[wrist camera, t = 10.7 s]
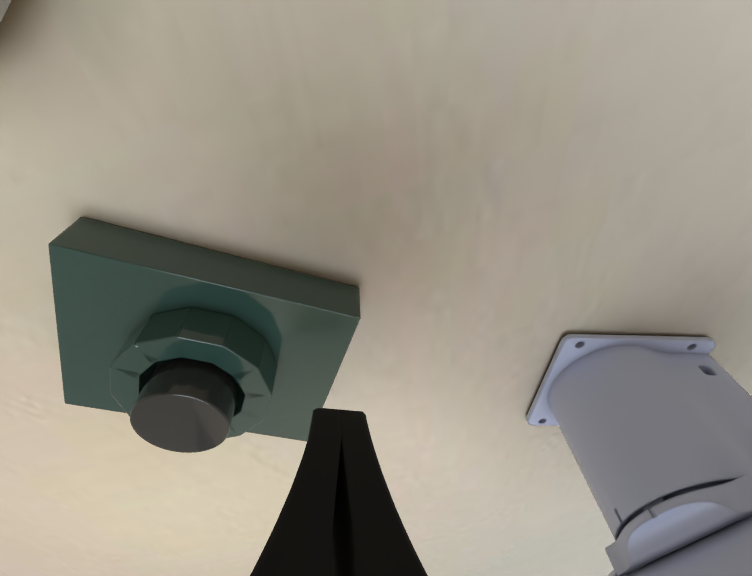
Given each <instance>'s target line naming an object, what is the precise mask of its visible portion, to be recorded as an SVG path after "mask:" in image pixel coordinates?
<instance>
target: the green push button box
mask: <svg viewBox="0 0 752 576" xmlns="http://www.w3.org/2000/svg"><path fill="white" fill-rule="evenodd" d="M49 254H50V264H51V274H52V283H53V293H54V303H55V313H56V322H57V332H58V342H59V351H60V361H61V371H62V380H63V390H64V400H65V403H66V404H72V405H78V406H85V407H91V408H97V409H104V410H110V411H116V412H123V413H127V414H128V415H129V416H130V413H131V410H132V408H133V406H134V404H135V402H136V400H137V398H138V396H139V394H140V392H141V390H142V389H143V387H144V385H145V383H146V381H147V379H148V377H149V375H150V373H151V372H152V370H153V369H154V368H155V367H157V366H158V365H160V364H161V363H163V362H166V361H169V360H172V359H178V358H187V359H193V360H198V361H203V362H208V363H212V364H214V365H216V366H217V367H219V368H221V369H222V370H224V371H225V372H227V373H229V374H230V375H231V376H232V377H233V378H234V380H235V381H236V383H237V385H238V389H239V397H238V401H237V405H236V408H235V412H234V416H233V419H232V423H231V427H230V430H229V433H228V436H227V437H226V438H229V437H235V436H239V435H242V434H243V433H245V432H250V433H256V434H263V435H269V436H275V437H282V438H288V439H295V440H301V441H308V436H309V431H310V425H311V420H312V414H313V410H315V409H317V408H323V405H324V403H325V401H326V398H327V396H328V393H329V391H330V389H331V386H332V384H333V382H334V379H335V377H336V375H337V372H338V370H339V367H340V365H341V363H342V360H343V358H344V356H345V353H346V351H347V349H348V346H349V344H350V341H351V339H352V337H353V334H354V332H355V330H356V327H357V325H358V323H359V320H360V295H359V287H355V286H351V285H347V284H343V283H339V282H335V281H332V280H328V279H324V278H320V277H316V276H312V275H308V274H304V273H300V272H296V271H292V270H288V269H284V268H281V267H277V266H273V265H269V264H265V263H261V262H257V261H253V260H249V259H245V258H241V257H237V256H233V255H230V254H226V253H222V252H218V251H214V250H210V249H206V248H202V247H198V246H194V245H190V244H186V243H183V242H179V241H175V240H171V239H167V238H163V237H159V236H155V235H151V234H147V233H143V232H139V231H135V230H132V229H128V228H124V227H120V226H116V225H112V224H108V223H104V222H100V221H96V220H92V219H88V218H84V217H80V218H79V219H78V220H77V221H75V222H74V223H73V224H72V225H71V226H69V227H68V228H67V229H66V230H65V231H63V232H62V233H61V234H60V235H59V236H57V237H56V238H55V239H54V240H52V241H51V242H50V243H49Z"/></svg>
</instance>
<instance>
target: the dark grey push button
mask: <svg viewBox="0 0 752 576" xmlns="http://www.w3.org/2000/svg"><path fill="white" fill-rule="evenodd" d="M238 397H239V389H238V385H237V383H236V381H235V380H234V378H233V377H232V376H231V375H230V374H229V373H227V372H225V371H224V370H222V369H221V368H219V367H217V366H216V365H214V364H212V363H208V362H203V361H198V360H193V359H187V358H178V359H172V360H169V361H166V362H163V363H161V364H160V365H158V366H157V367H155V368H154V369H153V370H152V372H151V373H150V375H149V377H148V379H147V381H146V383H145V385H144V387H143V389H142V390H141V392H140V394H139V396H138V398H137V400H136V402H135V404H134V406H133V408H132V410H131V413H130V422H131V425H132V427H133V429H134V430H135V432H136V433H137V434H138V435H139V436H140V437H141V438H143V439H144V440H146V441H147V442H149V443H151V444H153V445H155V446H157V447H160V448H163V449H166V450H170V451H175V452H185V453H192V452H201V451H206V450H209V449H212V448H214V447H216V446H218V445H219V444H221V443H222V442H223V441H224V440H225V439H226V437H227V436H228V433H229V430H230V427H231V423H232V419H233V416H234V412H235V408H236V405H237V401H238Z"/></svg>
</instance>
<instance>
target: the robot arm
mask: <svg viewBox="0 0 752 576" xmlns="http://www.w3.org/2000/svg"><path fill="white" fill-rule="evenodd" d="M578 342H579V343H578ZM715 345H716V343H715V342H714V341H713V340H712V339H711V338H709V337H679V336H636V335H592V334H568V335H566V336H564V337H563V338H562V340H561V341H560V343H559V346H558V348H557V350H556V352H555V355H554V357H553V359H552V361H551V363H550V366H549V368H548V370H547V372H546V374H545V377H544V379H543V381H542V383H541V386H540V388H539V390H538V392H537V394H536V397H535V399H534V401H533V403H532V405H531V408H530V410H529V412H528V414H527V417H526V419H527V422H528V424H530V425H559V427H560V429H561V431H562V433H563V435H564V437H565V439H566V441H567V443H568V445H569V447H570V449H571V451H572V453H573V455H574V457H575V459H576V461H577V463H578V465H579V467H580V469H581V471H582V473H583V475H584V477H585V479H586V481H587V484H588V486H589V488H590V490H591V492H592V494H593V496H594V498H595V500H596V502H597V504H598V506H599V508H600V510H601V512H602V514H603V516H604V518H605V520H606V522H607V524H608V526H609V528H610V530H611V532H612V534H613V536H614V538H615V540H616V541H615V542H614V543H612V544H611V545H609V546H608V547H606V548H605V550H606V553H607V555H608V557H609V559H610V561H611V563H612V565H613V568H614V570H613V571H612V572H611V573H610V574H609V576H752V397H751V396H750V395H749V394H748V393H747V392H746V391H745V390H744V389H743V388H742V387H741V386H740V385H739V384H738V383H737V382H736V381H735V380H734V379H733V378H732V377H731V376H730V375H729V374H728V373H727V372H726V371H725V370H724V369H723V368H722V367H721V366H720V365H719V364H718V363H717V362H716V361H715V360H714V359H713V358H712V357H711V356H710V355H709V354H710V353H711V351H712V350H713V349H714V347H715ZM250 576H428V575H427V574H426V572H425V570H424V568H423V566H422V564H421V562H420V560H419V558H418V556H417V554H416V552H415V550H414V548H413V546H412V543H411V541H410V539H409V537H408V535H407V533H406V530H405V528H404V526H403V524H402V521H401V519H400V517H399V514H398V512H397V510H396V507H395V505H394V502H393V500H392V498H391V495H390V492H389V490H388V487H387V484H386V482H385V479H384V476H383V474H382V471H381V468H380V465H379V462H378V459H377V456H376V453H375V450H374V446H373V443H372V440H371V436H370V432H369V428H368V424H367V420H366V415H365V414H364V413H363V412H361V411H349V410H338V409H326V408H317V409H315V410H313V414H312V420H311V425H310V431H309V436H308V441H307V444H306V448H305V451H304V454H303V457H302V460H301V463H300V466H299V468H298V471H297V474H296V477H295V479H294V482H293V485H292V487H291V490H290V492H289V494H288V497H287V499H286V501H285V504H284V506H283V508H282V511H281V513H280V515H279V518H278V520H277V522H276V524H275V526H274V529H273V531H272V533H271V535H270V537H269V539H268V541H267V543H266V545H265V547H264V549H263V551H262V553H261V555H260V557H259V559H258V561H257V563H256V565H255V567H254V569H253V571H252V573H251V575H250Z"/></svg>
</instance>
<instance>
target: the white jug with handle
mask: <svg viewBox="0 0 752 576" xmlns="http://www.w3.org/2000/svg"><path fill="white" fill-rule="evenodd" d="M10 2H11V0H0V22H1V20H2V18H3V16H4V14H5V12H6V10H7V8H8V6H9V4H10Z"/></svg>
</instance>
